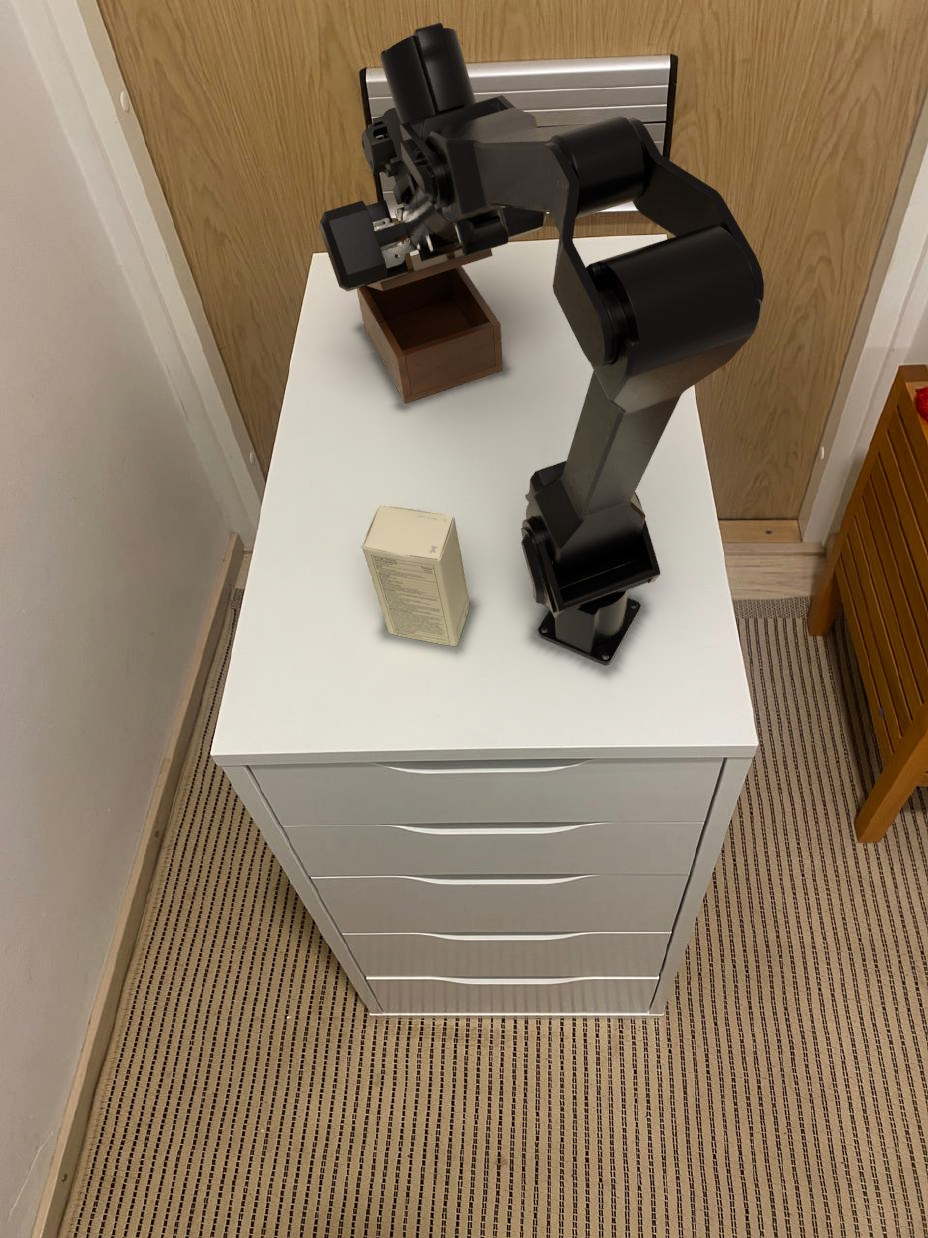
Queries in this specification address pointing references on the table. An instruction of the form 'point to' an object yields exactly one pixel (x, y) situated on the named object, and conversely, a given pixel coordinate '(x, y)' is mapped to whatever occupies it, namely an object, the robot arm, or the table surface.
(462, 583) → the cosmetic box
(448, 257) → the lid
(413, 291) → the wooden box
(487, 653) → the table surface
